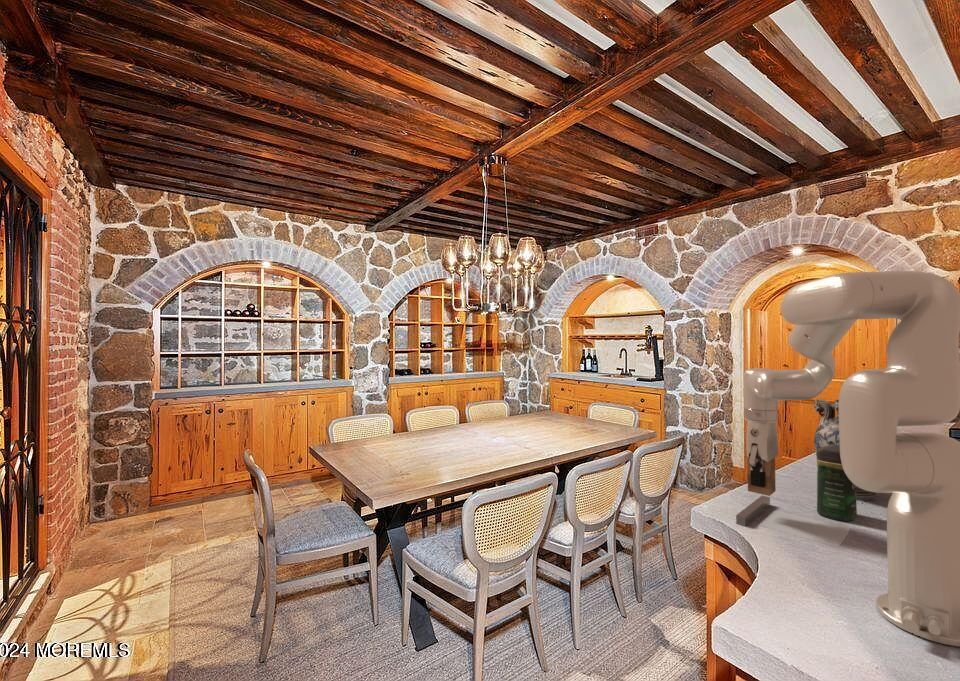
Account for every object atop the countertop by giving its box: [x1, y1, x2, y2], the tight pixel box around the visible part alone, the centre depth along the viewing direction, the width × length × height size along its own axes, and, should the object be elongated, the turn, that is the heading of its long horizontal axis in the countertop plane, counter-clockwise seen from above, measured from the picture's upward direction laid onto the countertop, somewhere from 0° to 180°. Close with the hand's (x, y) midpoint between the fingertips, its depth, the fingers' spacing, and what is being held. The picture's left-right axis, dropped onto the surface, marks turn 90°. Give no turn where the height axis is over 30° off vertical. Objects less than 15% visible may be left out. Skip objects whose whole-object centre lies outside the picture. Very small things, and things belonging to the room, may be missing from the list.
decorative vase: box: [813, 398, 879, 501], centre depth 130 cm, size 21×19×28 cm
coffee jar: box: [816, 444, 858, 523], centre depth 115 cm, size 10×8×19 cm
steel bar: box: [735, 495, 771, 527], centre depth 117 cm, size 20×2×2 cm, turn 131°
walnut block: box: [746, 454, 776, 497], centre depth 115 cm, size 5×5×10 cm
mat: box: [758, 509, 852, 548], centre depth 108 cm, size 14×16×1 cm
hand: (761, 482), depth 115 cm, fingers closed on walnut block, 5 cm apart
